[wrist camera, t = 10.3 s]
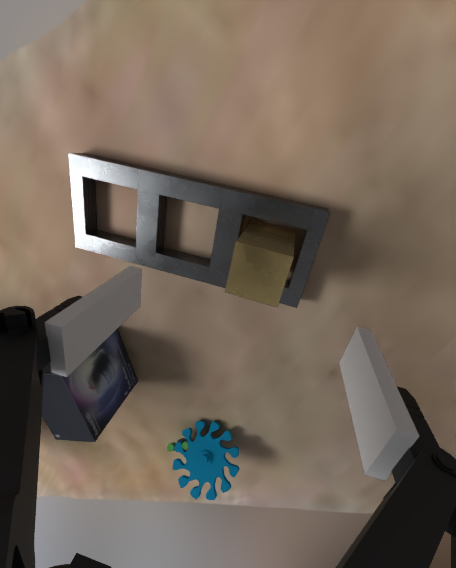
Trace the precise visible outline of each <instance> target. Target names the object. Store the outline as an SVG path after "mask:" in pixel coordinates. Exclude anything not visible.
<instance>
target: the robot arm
mask: <svg viewBox="0 0 456 568" xmlns="http://www.w3.org/2000/svg"><path fill="white" fill-rule="evenodd" d="M141 279H142V269H141V268H137V267H133V266H130V267H128V268H127V269H125V270H123V271H122V272H120V273H119V274H117V275H116V276H114V277H113V278H111V279H110V280H108V281H107V282H105V283H104V284H102V285H101V286H99V287H98V288H96V289H95V290H93V291H91V292H90V293H88V294H87V295H85V296H84V297H81V296H76V297H73V298H70V299H67V300H66V301H64V302H63V303H61V304H60V305H58V306H56V307H55V308H53V310H52V309H51V310H50V311H48V312H47V313H45V314H43V315H42V316H40V317H38V318H37V319H35V314H34V310H33V309H32V308H30V307H26V306H14V307H8V308H5V309H3V310H1V311H0V568H35V552H34V532H35V515H36V498H37V482H38V465H39V448H40V432H41V415H42V398H43V382H44V371H43V368H44V367H45V366H47V365H48V364H49V363H50V365H51V372H52V373H55V374H58V375H61V376H64V377H68V376H69V375H70V374H71V373H72V372H73V371H74V370H75V369H76V368H77V367H78V366H79V365H80V364H81V363H82V362H83V361H84V360H85V359H86V358H87V357H88V356H89V355H90V354H91V353H92V352H94V351H95V350H96V349H97V348H98V347H99V346H100V345H101V344H102V343H103V342H104V341H105V340H106V339H107V338H108V337H109V336H110V335H111V334H112V333H113V332H114V331H115V330H116V329H117V328H118V327H119V326H120V325H121V324H123V323H124V322H125V321H126V320H127V319H128V318H129V317H130V316H131V315H132V314H133V313H134V312H135V311H136V310H137V309H138V308H139V307H140V300H141ZM339 364H340V368H341V373H342V377H343V381H344V386H345V390H346V394H347V399H348V403H349V407H350V412H351V416H352V420H353V425H354V429H355V433H356V438H357V442H358V446H359V451H360V455H361V459H362V464H363V468H364V472H365V475H369V476H372V477H375V478H378V479H381V480H384V481H385V480H386V479H387V477H388V476H389V475H390V474H391V472H392V473H393V477H394V480H395V484H394V485H393V487H392V488H391V489H390V490H389V491H388V493H387V494H386V495H385V496H384V498H383V501H382V502H381V504H380V505H379V506H378V508H377V509H376V511H375V512H374V514H373V515H372V516H371V518H370V519H369V521H368V522H367V524H366V525H365V526H364V528H363V529H362V531H361V532H360V534H359V535H358V537H357V538H356V539H355V541H354V542H353V544H352V545H351V547H350V548H349V549H348V551H347V552H346V554H345V555H344V556H343V558H342V559H341V561H340V562H339V564H338V565H337V566H336V568H429V567H430V564H431V562H432V559H433V557H434V555H435V553H436V550H437V548H438V545H439V543H440V541H441V539H442V536H443V534H444V532H445V531H446V532H448V533H449V534H451V568H456V459H455V458H454V457H453V456H451V455H450V454H449V453H447V452H446V451H444V450H443V449H441V448H440V447H439V445H438V443H437V441H436V439H435V437H434V435H433V433H432V431H431V429H430V428H429V426H428V424H427V422H426V420H425V419H424V416H423V414H422V412H421V411H420V408H419V406H418V404H417V402H416V400H415V399H414V397H413V396H412V395H411V394H410V393H409V392H408V391H407V390H406V389H404V388H400V387H397V386H396V384H395V382H394V380H393V378H392V375H391V373H390V371H389V369H388V367H387V365H386V362H385V360H384V358H383V356H382V354H381V351H380V349H379V347H378V345H377V343H376V341H375V338H374V336H373V334H372V332H371V330H368V329H365V328H361V327H356V329H355V331H354V333H353V336H352V338H351V340H350V342H349V344H348V346H347V348H346V350H345V352H344V354H343V356H342V358H341V361H340V363H339ZM50 568H111V567H110V566H108V565H105V564H103V563H100V562H98V561H95V560H93V559H90V558H88V557H86V556H83V555H80V554H78V553H76V555H75V557H74V559H73V560H72V562H71V564H64V565H58V566H54V567H50Z"/></svg>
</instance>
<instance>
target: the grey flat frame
mask: <svg viewBox="0 0 456 568" xmlns="http://www.w3.org/2000/svg"><path fill="white" fill-rule="evenodd" d="M68 154H69V167H70V180H71V193H72V206H73V219H74V232H75V245H76V247H78V248H81V249H85V250H89V251H92V252H96V253H100V254H103V255H107V256H110V257H114V258H118V259H121V260H125V261H129V262H132V263H136V264H140V265H143V266H147V267H150V268H154V269H158V270H161V271H165V272H169V273H172V274H176V275H180V276H183V277H187V278H190V279H194V280H198V281H201V282H205V283H209V284H212V285H216V286H220V287H223V288H226V284H227V280H228V275H229V271H230V266H231V261H232V257H233V252H234V248H235V243H236V241H237V239H238V238H239V237H240V235H241V232H242V228H243V223H244V218H245V215H248V216H252V217H256V218H260V219H265V220H269V221H273V222H277V223H282V224H286V225H290V226H294V227H298V228H303V229H306V230H305V233H304V236H303V240H302V243H301V246H300V249H299V252H298V255H297V258H296V262H295V265H294V268H293V271H292V274H291V277H290V280H286V282H285V285H284V289H283V292H282V295H281V298H280V301H279V303H281V304H285V305H289V306H292V307H296V308H297V306H298V303H299V301H300V298H301V295H302V292H303V289H304V286H305V283H306V281H307V278H308V275H309V272H310V269H311V266H312V264H313V261H314V258H315V255H316V252H317V249H318V246H319V244H320V241H321V238H322V235H323V232H324V229H325V226H326V224H327V221H328V218H329V215H330V211H329V209H327V208H322V207H318V206H313V205H309V204H304V203H300V202H296V201H291V200H287V199H282V198H278V197H273V196H269V195H265V194H260V193H256V192H251V191H247V190H242V189H238V188H234V187H229V186H225V185H220V184H216V183H211V182H207V181H203V180H198V179H194V178H189V177H185V176H180V175H176V174H172V173H167V172H163V171H158V170H154V169H150V168H145V167H141V166H136V165H132V164H127V163H123V162H119V161H114V160H110V159H105V158H101V157H96V156H92V155H88V154H83V153H68ZM95 179H96V180H101V181H105V182H109V183H113V184H117V185H122V186H126V187H130V188H134V189H138V197H137V231H136V240H133V239H129V238H126V237H122V236H118V235H114V234H110V233H107V232H103V231H99V230H97V215H96V189H95ZM167 196H168V197H172V198H176V199H181V200H185V201H189V202H193V203H197V204H202V205H206V206H210V207H214V208H218V209H219V214H218V220H217V226H216V232H215V238H214V244H213V250H212V256H211V260H209V259H205V258H202V257H198V256H194V255H190V254H186V253H183V252H179V251H175V250H171V249H167V248H164V247H163V246H164V234H165V221H166V208H167Z"/></svg>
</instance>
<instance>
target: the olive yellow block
mask: <svg viewBox="0 0 456 568" xmlns="http://www.w3.org/2000/svg"><path fill="white" fill-rule="evenodd" d="M294 245H295V231H292V230H288V229H284V228H280V227H276V226H272V225H268V224H264V223H260V222H257V221H253V220H252V221H251V222H250V223H249V225H248V226H247V227H246V229H245V230H244V231H243V233H242V234H241V235H240V237H239V238H238V239H237V241H236V243H235V248H234V252H233V257H232V261H231V266H230V271H229V275H228V280H227V284H226V289H225V292H226V293H229V294H233V295H236V296H239V297H243V298H246V299H250V300H253V301H256V302H260V303H263V304H267V305H270V306H274V307H278V304H279V301H280V298H281V295H282V292H283V289H284V285H285V282H286V279H287V276H288V273H289V270H290V267H291V264H292V261H293V258H294Z"/></svg>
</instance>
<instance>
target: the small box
mask: <svg viewBox="0 0 456 568" xmlns="http://www.w3.org/2000/svg"><path fill="white" fill-rule="evenodd" d="M43 371H44V382H43V398H42V417H43V418H44V420H45V422H46V423H47V425H48V427H49V428H50V430H51V432H52V434H53V435H54V437H55V439H57V440H70V441H84V442H95V441H96V440H97V438H98V437H99V435H100V434H101V432H102V431H103V430H104V428H105V427H106V425H107V424H108V423H109V421H110V420H111V418H112V417H113V415H114V414H115V413H116V411H117V410H118V408H119V407H120V406H121V404H122V403H123V401H124V400H125V399H126V397H127V396H128V394H129V393H130V392H131V390H132V389H133V387H134V386H135V384H136V383H137V382H138V381H137V378H136V376H135V373H134V371H133V368H132V366H131V363H130V360H129V358H128V355H127V353H126V350H125V347H124V345H123V342H122V340H121V337H120V334H119V332H118V329H116V330H115V331H114V332H113V333H112V334H111V335H110V336H109V337H108V338H107V339H106V340H105V341H104V342H103V343H102V344H101V345H100V346H99V347H98V348H97V349H96V350H95V351H94V352H92V353H91V354H90V355H89V356H88V357H87V358H86V359H85V360H84V361H83V362H82V363H81V364H80V365H79V366H78V367H77V368H76V369H75V370H74V371H73V372H72V373H71V374H70V375H69V376H68V377H64V376H61V375H58V374H55V373H52V372H51V365H50V363H49V364H48V365H47V366H45V367H44V368H43Z"/></svg>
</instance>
